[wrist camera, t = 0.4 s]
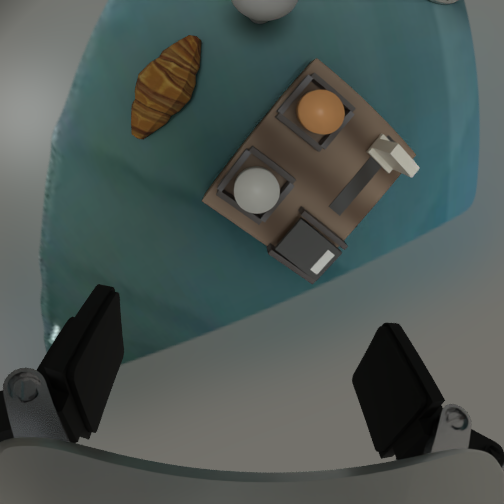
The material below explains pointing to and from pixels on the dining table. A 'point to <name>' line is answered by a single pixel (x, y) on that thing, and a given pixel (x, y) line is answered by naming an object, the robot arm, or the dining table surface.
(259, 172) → the grey button
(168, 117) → the croissant
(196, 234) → the dining table surface
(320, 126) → the orange button
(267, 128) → the panel
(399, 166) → the cream stepped block
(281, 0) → the lightbulb
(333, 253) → the rocker
